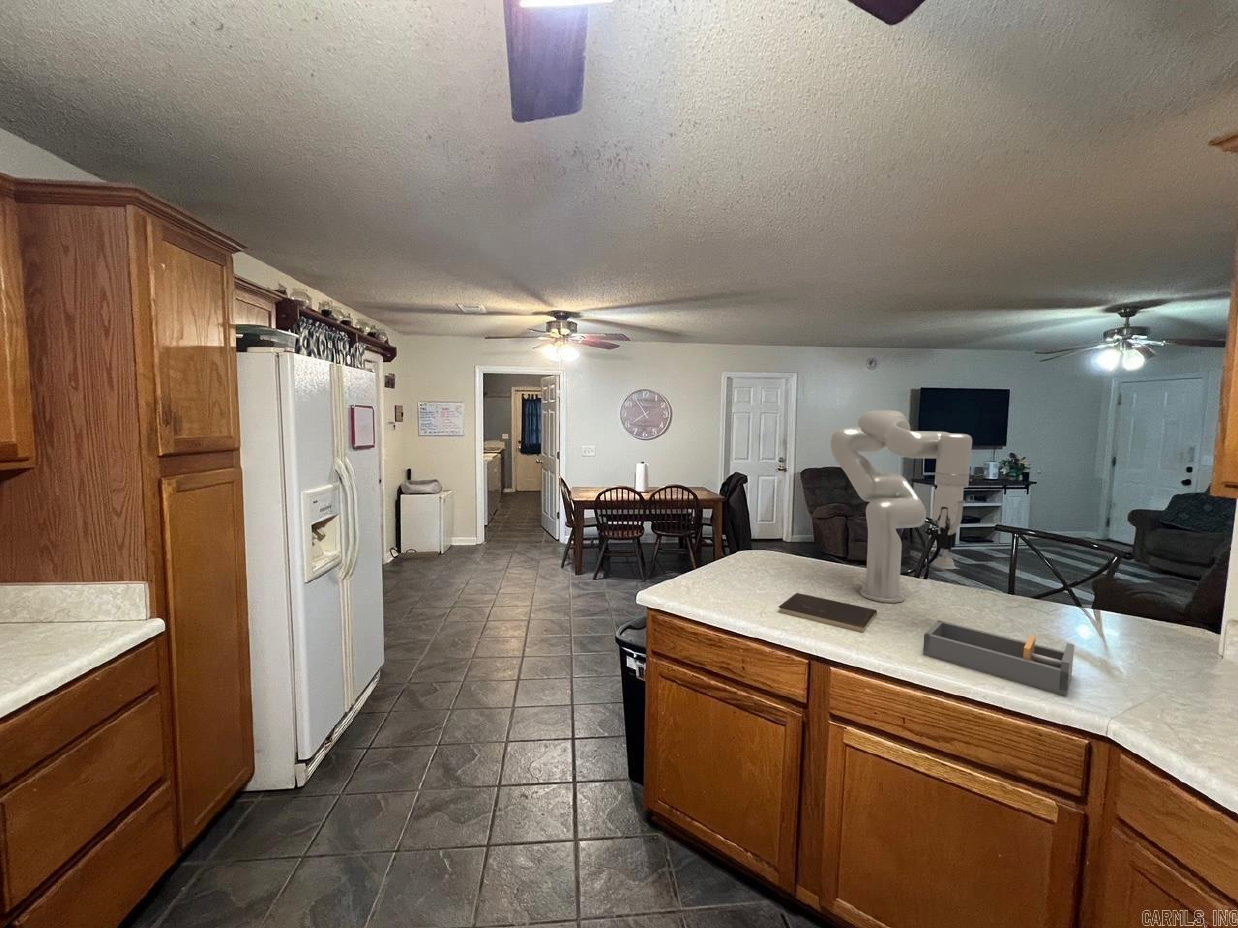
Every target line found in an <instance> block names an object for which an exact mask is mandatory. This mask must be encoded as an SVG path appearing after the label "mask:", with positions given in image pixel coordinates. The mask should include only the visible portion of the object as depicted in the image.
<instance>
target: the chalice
mask: <svg viewBox="0 0 1238 928" xmlns="http://www.w3.org/2000/svg"><path fill="white" fill-rule="evenodd" d="M965 504H966V500H963V501H962V503H958V512H957V517H956V520H955V523H953V524H952V531H951V534H954V533H956V532H957V529H958V528H959V526H960V524H961V522H962V519H963V507H964V505H965ZM938 519H939V520H937V522H936V523H937V525H938V527H939V521H940V516H939V518H938ZM949 520H950V519H949ZM949 520H946V523H950V522H949ZM946 526H948V525H946ZM948 528H949V526H948ZM955 531H956V532H955ZM942 550H943V553H942V555H940V556H938V557H937V558H936V559H935V562H934V563H933V566H935V567H937V568H941V569H946V570H947V569H948V570H953V569H956V566H955V563H954V560H953V558H951V557H950V556H949V554H948V552H949V550H946V549H942Z"/></svg>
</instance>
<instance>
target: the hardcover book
mask: <svg viewBox="0 0 1238 928" xmlns="http://www.w3.org/2000/svg"><path fill="white" fill-rule="evenodd" d="M778 608H779V613H780V614H781V613H782V614H786V615H790V616H795V617H798V618H802V619H807V620H810V621H815V622H818V623H823V624H827V625H831V626H834V627H840V628H843V629H847V630H851V631H852V630H853V631H856V632H860V633H864V632H865V630H866V629H867V627H868V626H869V625H870V624H871V622H872V621H873V620H874V618H876V616H877V615H878V610H877V609H873V608H869V607H865V606H860V605H854V604H850V603H846V602H842V601H837V600H833V599H827V598H824V597H818V596H813V595H810V594H809V595H808V594H803V593H800V592H796V593H794V594H793V595H792V596H790V597H789V598H788V599H787V600H785V601H784V602H783V603H781V604H780V605H778Z"/></svg>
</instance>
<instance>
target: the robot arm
mask: <svg viewBox="0 0 1238 928" xmlns="http://www.w3.org/2000/svg"><path fill="white" fill-rule="evenodd" d="M972 447H973V438H972V436H971V435H969V434H967V433H966V434H965V433H950V432H948V431H930V430H929V431H928V430H927V431H925V430H924V431H923V430H921V431H920V430H916V431H915V430H911V425H910V423H909V422H908V419H907V417H906V415H904V414H903V413H902V412H901V411H898V410H892V409H891V410H888V409H887V410H886V409H884V410H881V409H876V410H868V411H865V412H863V413H862V414H861V415H860V416H859V418H858V422H857V426H856V427H855V426H854V427H853V426H852V427H850V426H849V427H843V428H839V429H837V430H835V431H834V432H833V433H832V436H831V439H830V449H831V453H832V457H833V458H834V461H835V462H836V463H837V465H838V466H839V467H840V468H841V469H842V470H843V471H844V473H845V475H846V476H847V477H848V480H849V481H850V483H851V484H852V487H853V489H854V490H855V491H856V493H857V496H859V498H860V499H861V500H863V501H864V502H868V504H867V505H866V507H865V517H866V523H867V524H866V525H867V553H866V554H867V556H866V574H865V578H860V577H853V579H852V583H853V585H854V586H860V587H861V588H860V589H859V594H860V595H861V596H862V597H863V598H866V599H868V600H872V601H875V602H881V603H888V604H889V603H890V604H894V603H901V602H903V601H905V595H904V594H903V593H902V592H901V591H900V585H901V584H900V583H901V563H902V550H903V549H902V547H903V546H902V545H903V544H902V539H901V537H900V535H899V534H898V532H897V529H907V528H908V529H910V528H913V529H914V528H918V527H921V526H922V525H923V524H924V523H925V521H926V519H927V511H926V507H925V505H924V503H923V502H922V500H921V499H920V497H919V496H918V494H917V493H916V491H915V490H914V488H913V487H912V486H911V483H909V481H908V480H907V479H906V477H904V476H902V475H900V474H899V473H895V472H894V473H893V472H879V471H877V470H876V469H875V467H874V465H872V462H871V461H870V460H868V458H867V457H865V456H864V455H862V454H860V453H862V452H865V453H867V452H870V453H871V452H872V453H873V452H878V451H882V450H883V449H884V448H887V449H888V450H889V451H890V452H892V453H895V454H897V455H898V456H901V457H903V458H908V459H936V463H935V476H934V485H935V486H937V488H936V491H935V496H934V503H933V511H932V516H931V517H932V522H934V523H937V520H939V519H938V518H939V516H940V521H939V526H938V529H937V530H938V533H937V543H936V547H937V549H942V550H943V549H946V550H948V551H951V550H952V548H955V547H956V541H957V539H956V537H957V530H956V531H955V532H954V534H951V531H952V524H953V523H955V520H956V517H957V512H958V503H962V501H964V489H965V488H969V481H970V470H971V457H972V449H973V448H972ZM949 519H950V520H949ZM946 520H949V522H950V523H946ZM946 525H948V526H949V528H948V526H946Z"/></svg>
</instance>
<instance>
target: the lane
mask: <svg viewBox="0 0 1238 928" xmlns="http://www.w3.org/2000/svg"><path fill="white" fill-rule="evenodd" d="M923 634H924V635H923V647H922V654H923V655H925V656H928V657H930V658H935V659H938V660H941V661H945V662H948V663H951V664H955V665H959V666H961V667H966V668H967V669H972V670H975V671H979V672H981V673H985V674H988V675H989V674H990V675H992V676H995V677H999V678H1003V679H1006V680H1010V681H1011V682H1012V681H1013V682H1016V683H1020V684H1023V685H1027V686H1030V687H1032V688H1036V689H1039V690H1040V689H1041V690H1044V691H1047V692H1049V693H1054V694H1058V695H1061V696H1064V697H1067V696H1068V691H1069V688H1070V683H1071V679H1072V675H1073V664H1074V651H1075V644H1074V643H1073V644H1072V643H1069V642H1067V643H1066V646H1065V648H1064V650H1061V649H1056V648H1053V647H1048V646H1044V645H1040V644H1036V643H1035V649H1034V654H1038V655H1042V656H1045V657H1049V658H1053V659H1057V660H1061V661H1062V662H1061V666H1058V665H1054V664H1050V663H1046V662H1043V661H1039V660H1035V659H1034V661H1030V660H1026V659H1023V652H1024V646H1025V644H1026V642H1027V641H1023V640H1021V639H1015V638H1013V637H1008V636H1003V635H999V634H995V633H991V632H988V631H983V630H980V629H976V628H971V627H967V626H964V625H959V624H956V623H951V622H947V621H943V620H939V619H937V620H936V622H934V624H933V625H932V626H931V627H930V628H929V629H928V630H927V631H926V632H925V633H923Z"/></svg>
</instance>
